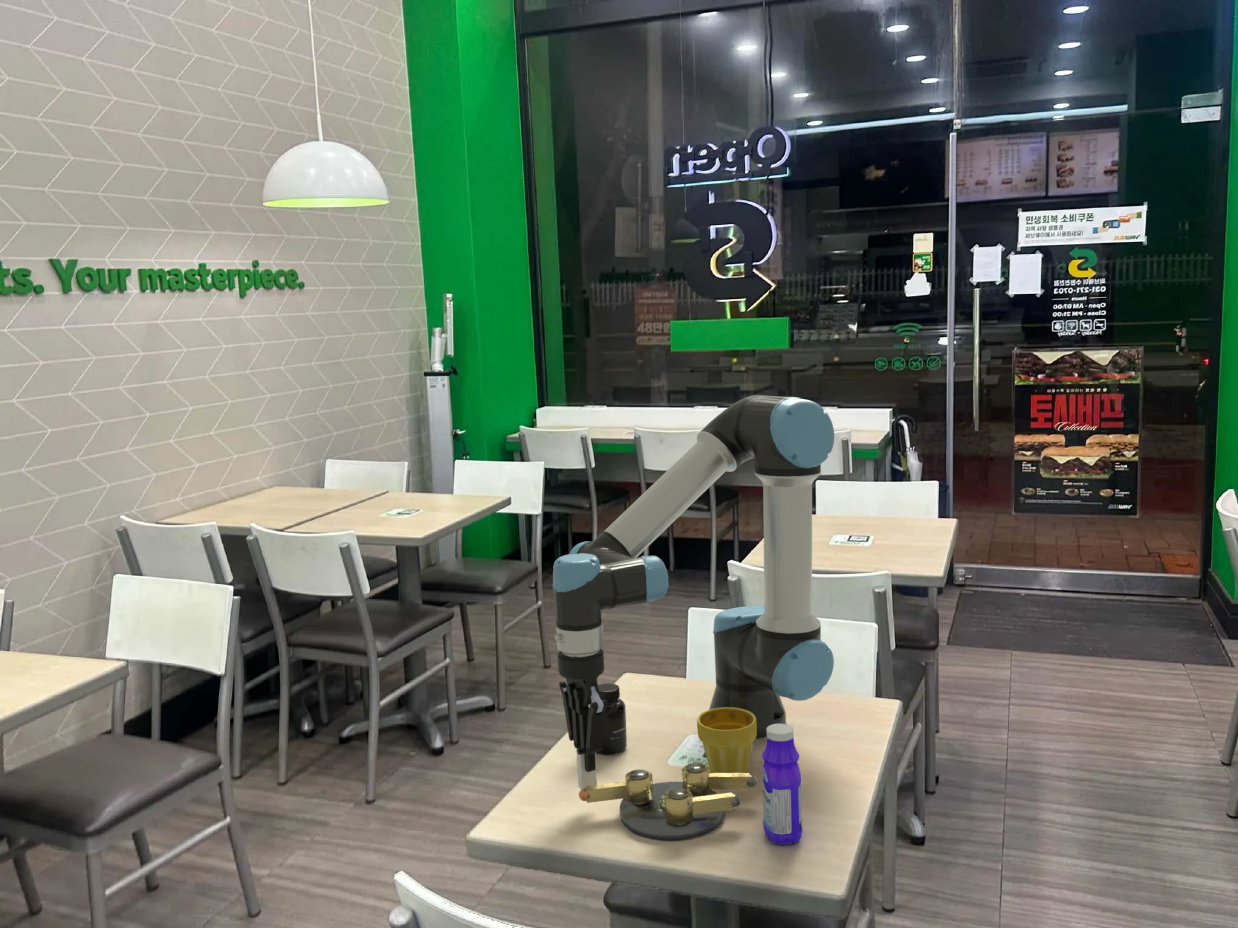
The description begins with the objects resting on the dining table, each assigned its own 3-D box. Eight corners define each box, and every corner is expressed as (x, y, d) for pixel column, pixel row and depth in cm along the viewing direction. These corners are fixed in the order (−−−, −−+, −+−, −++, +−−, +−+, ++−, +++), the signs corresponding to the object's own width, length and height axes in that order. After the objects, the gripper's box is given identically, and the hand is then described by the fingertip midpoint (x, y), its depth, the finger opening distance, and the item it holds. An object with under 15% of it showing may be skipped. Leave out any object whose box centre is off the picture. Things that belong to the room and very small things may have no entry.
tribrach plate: (710, 784, 177) (709, 769, 177) (737, 832, 160) (736, 816, 160) (612, 796, 174) (611, 781, 174) (629, 846, 158) (629, 830, 157)
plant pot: (723, 789, 175) (721, 734, 174) (687, 768, 184) (685, 716, 182) (770, 772, 180) (768, 719, 179) (733, 753, 189) (731, 702, 188)
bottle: (759, 825, 162) (756, 720, 160) (794, 822, 163) (792, 717, 160) (769, 849, 155) (766, 739, 153) (806, 845, 156) (804, 736, 153)
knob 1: (650, 788, 171) (649, 766, 171) (655, 801, 167) (654, 777, 167) (577, 797, 170) (576, 774, 169) (581, 810, 165) (579, 786, 165)
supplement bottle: (623, 756, 190) (620, 694, 188) (587, 755, 191) (584, 693, 189) (630, 741, 196) (627, 681, 195) (595, 739, 198) (592, 680, 196)
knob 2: (668, 825, 159) (667, 800, 159) (662, 811, 163) (661, 788, 163) (744, 815, 161) (744, 791, 160) (737, 802, 165) (736, 778, 165)
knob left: (682, 795, 168) (681, 772, 168) (683, 783, 173) (682, 760, 172) (757, 795, 167) (757, 772, 167) (756, 783, 172) (756, 760, 171)
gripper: (542, 643, 171) (550, 777, 175) (577, 665, 160) (585, 808, 163) (582, 635, 175) (589, 766, 178) (620, 655, 164) (626, 795, 167)
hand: (587, 786), depth 171 cm, fingers closed
